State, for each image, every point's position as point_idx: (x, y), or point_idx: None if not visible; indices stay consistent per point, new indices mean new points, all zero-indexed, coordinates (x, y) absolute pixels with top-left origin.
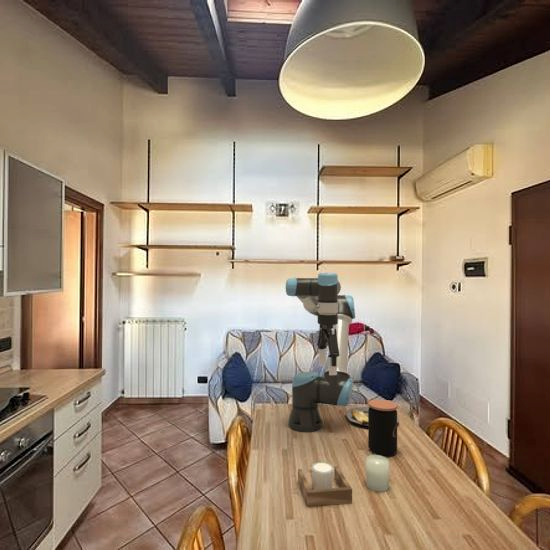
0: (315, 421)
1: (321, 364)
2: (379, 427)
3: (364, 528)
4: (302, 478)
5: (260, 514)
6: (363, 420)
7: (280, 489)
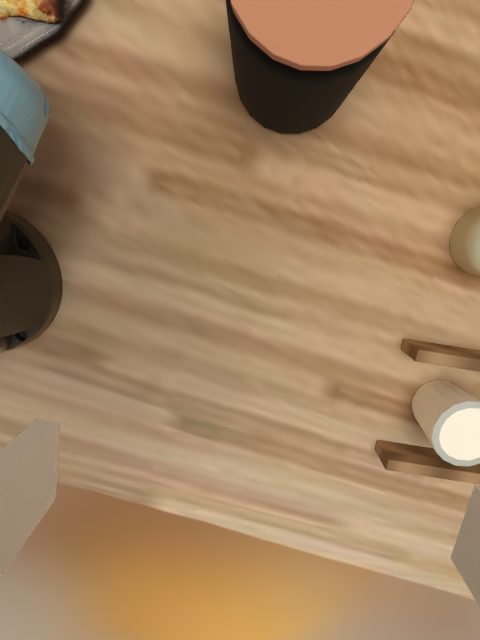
0: (32, 262)
1: (46, 488)
2: (357, 81)
3: None
4: (438, 475)
5: None
6: (42, 4)
7: (391, 500)
